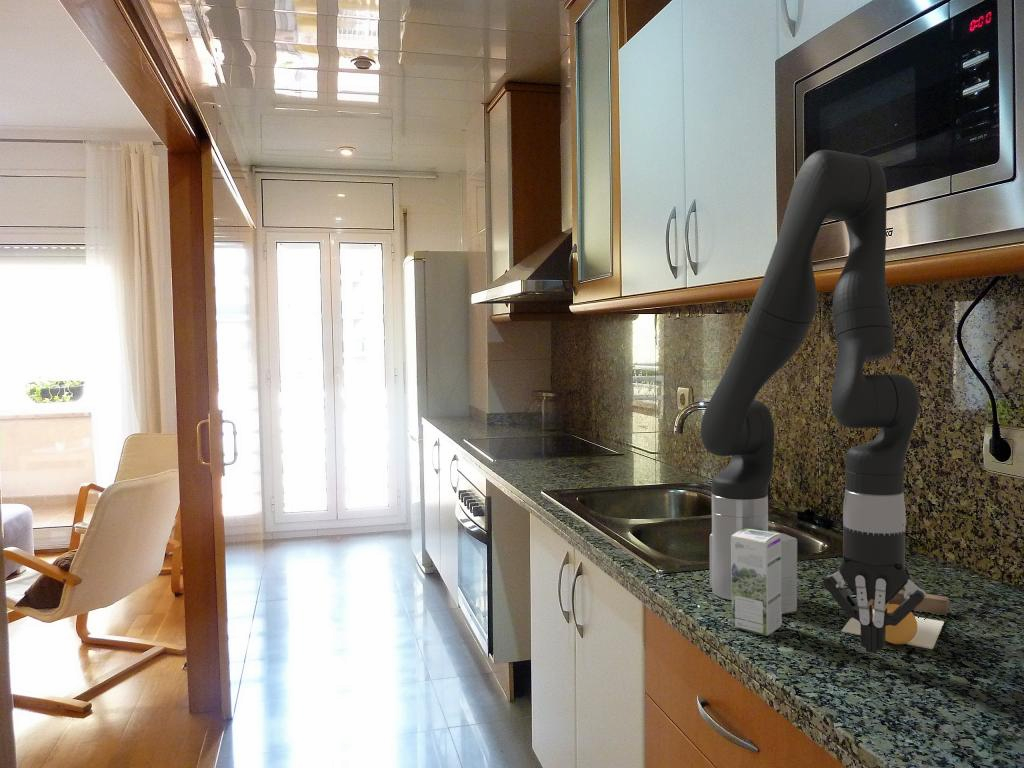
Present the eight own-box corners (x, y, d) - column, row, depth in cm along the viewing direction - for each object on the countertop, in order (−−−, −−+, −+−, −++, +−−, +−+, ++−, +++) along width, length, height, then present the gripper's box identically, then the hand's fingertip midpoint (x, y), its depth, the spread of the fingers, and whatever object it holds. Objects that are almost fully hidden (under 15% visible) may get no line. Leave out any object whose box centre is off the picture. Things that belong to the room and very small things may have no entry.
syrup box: (782, 626, 118) (782, 532, 117) (766, 637, 113) (766, 540, 112) (747, 617, 121) (747, 526, 121) (730, 628, 117) (729, 534, 116)
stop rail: (863, 602, 127) (863, 587, 127) (865, 599, 129) (865, 584, 128) (946, 616, 120) (946, 600, 120) (948, 612, 122) (948, 597, 121)
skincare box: (752, 603, 128) (751, 532, 127) (773, 600, 129) (772, 529, 128) (776, 615, 122) (776, 541, 121) (798, 611, 123) (798, 537, 123)
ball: (874, 604, 114) (866, 639, 112) (883, 593, 110) (875, 630, 108) (914, 618, 113) (907, 654, 110) (925, 608, 108) (918, 645, 106)
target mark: (841, 631, 115) (841, 630, 115) (859, 608, 124) (859, 606, 124) (932, 649, 108) (932, 647, 108) (944, 622, 117) (944, 621, 117)
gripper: (814, 523, 104) (814, 650, 105) (925, 536, 96) (924, 673, 97) (828, 513, 110) (828, 632, 111) (933, 524, 102) (932, 652, 103)
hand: (873, 651), depth 104 cm, fingers closed
